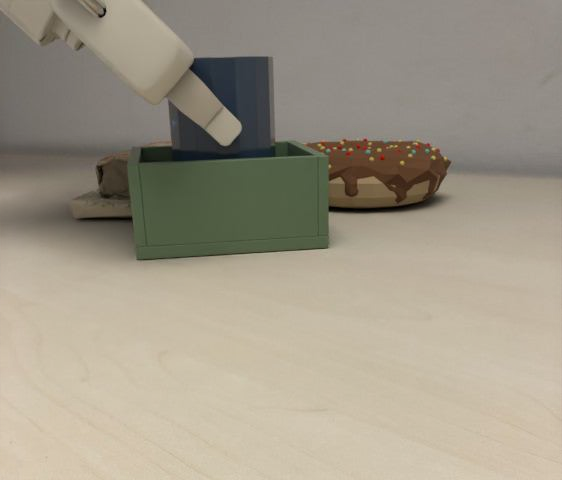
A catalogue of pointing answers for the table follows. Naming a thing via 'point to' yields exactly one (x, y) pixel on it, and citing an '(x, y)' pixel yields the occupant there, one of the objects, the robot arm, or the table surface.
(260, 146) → the cup
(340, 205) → the donut
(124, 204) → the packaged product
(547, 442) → the table surface
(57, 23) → the robot arm
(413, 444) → the table surface
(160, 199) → the tub
